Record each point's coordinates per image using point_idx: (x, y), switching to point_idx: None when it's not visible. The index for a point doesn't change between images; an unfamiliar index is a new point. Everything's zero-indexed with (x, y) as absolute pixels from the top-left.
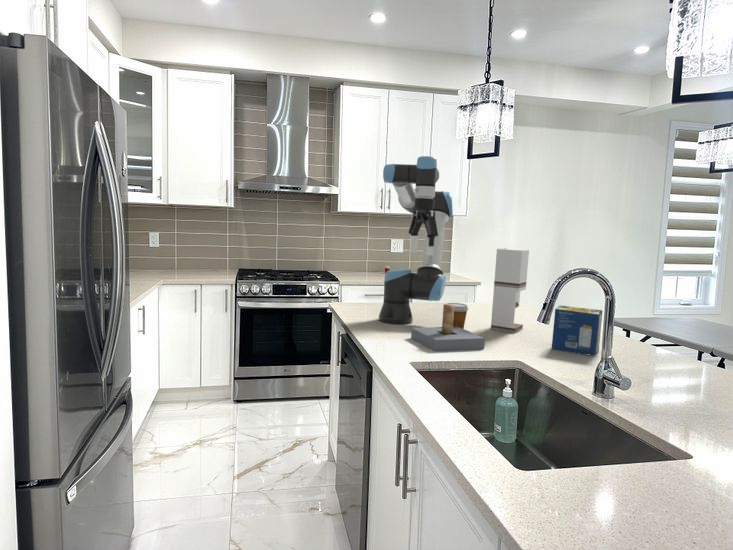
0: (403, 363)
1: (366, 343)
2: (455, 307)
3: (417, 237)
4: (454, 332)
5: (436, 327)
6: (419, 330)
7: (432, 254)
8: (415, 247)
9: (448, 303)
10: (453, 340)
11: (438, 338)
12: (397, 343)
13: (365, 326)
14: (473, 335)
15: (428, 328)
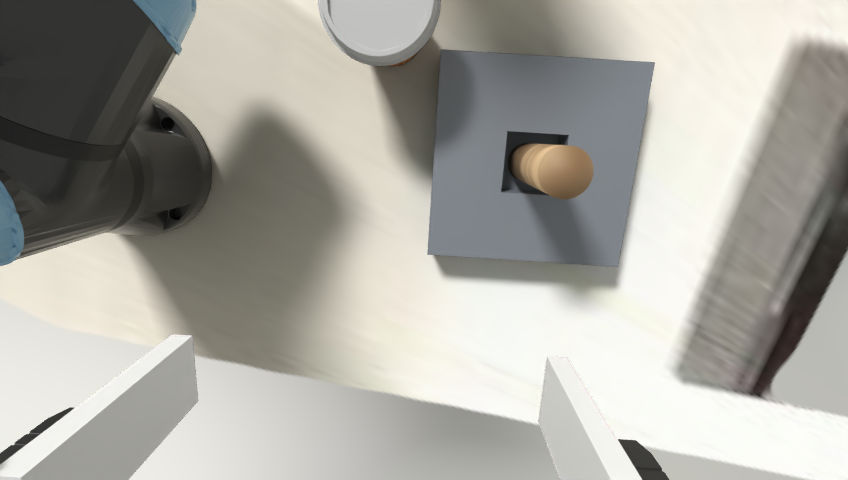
0: (678, 397)
1: (462, 403)
2: (422, 35)
3: (47, 466)
4: (536, 130)
5: (440, 154)
6: (474, 247)
7: (569, 369)
8: (161, 388)
9: (331, 20)
10: (628, 198)
11: (602, 245)
12: (484, 320)
13: (237, 317)
14: (602, 81)
15: (450, 196)
